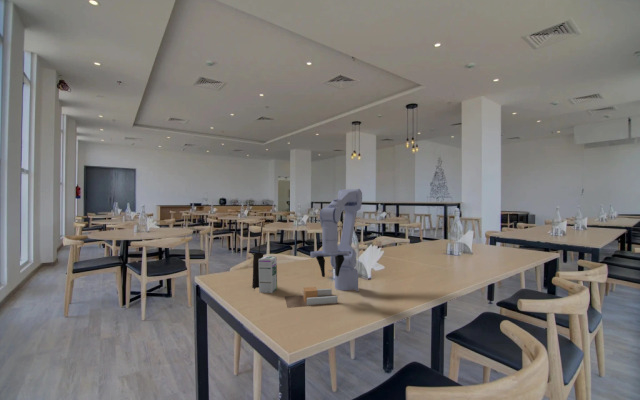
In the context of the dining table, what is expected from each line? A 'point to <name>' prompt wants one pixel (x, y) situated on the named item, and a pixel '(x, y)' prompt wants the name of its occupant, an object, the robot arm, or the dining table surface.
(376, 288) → the dining table surface
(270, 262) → the syrup box
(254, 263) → the butter churn
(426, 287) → the dining table surface
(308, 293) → the block
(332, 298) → the trough walls
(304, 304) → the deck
